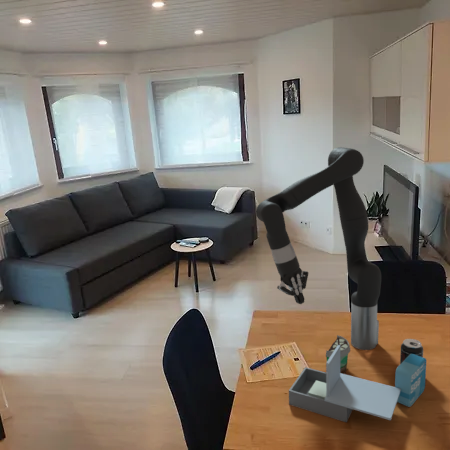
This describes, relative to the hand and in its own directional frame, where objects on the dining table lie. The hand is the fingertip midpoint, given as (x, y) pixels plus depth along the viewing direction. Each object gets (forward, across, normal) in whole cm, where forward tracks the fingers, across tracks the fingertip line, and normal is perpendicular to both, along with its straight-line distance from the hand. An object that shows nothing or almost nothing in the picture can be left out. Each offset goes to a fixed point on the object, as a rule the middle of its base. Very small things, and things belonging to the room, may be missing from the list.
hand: (301, 302), depth 152 cm
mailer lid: (+23, -7, -26) cm, 35 cm away
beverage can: (+33, +17, -21) cm, 43 cm away
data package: (+32, +8, -28) cm, 44 cm away
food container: (+27, +2, -6) cm, 27 cm away
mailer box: (+25, -13, -14) cm, 31 cm away
